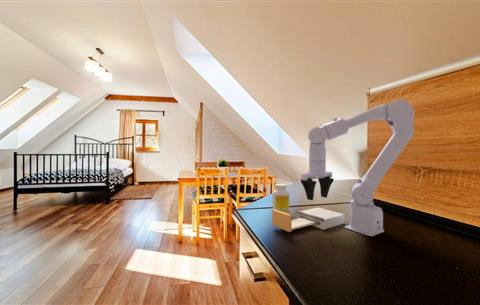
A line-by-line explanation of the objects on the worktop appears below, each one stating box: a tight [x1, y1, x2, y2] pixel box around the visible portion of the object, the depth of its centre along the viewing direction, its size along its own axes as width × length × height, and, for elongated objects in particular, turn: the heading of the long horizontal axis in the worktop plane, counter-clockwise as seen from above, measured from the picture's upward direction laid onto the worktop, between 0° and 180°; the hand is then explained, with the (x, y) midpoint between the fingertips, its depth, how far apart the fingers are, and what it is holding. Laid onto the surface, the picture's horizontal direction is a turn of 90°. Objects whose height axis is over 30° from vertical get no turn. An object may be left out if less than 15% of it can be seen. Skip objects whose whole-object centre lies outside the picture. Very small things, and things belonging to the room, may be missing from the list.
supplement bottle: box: [272, 183, 290, 214], centre depth 96 cm, size 7×7×13 cm
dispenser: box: [295, 207, 346, 230], centre depth 88 cm, size 12×12×4 cm
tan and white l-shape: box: [271, 209, 320, 233], centre depth 82 cm, size 17×8×5 cm, turn 122°
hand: (317, 198), depth 85 cm, fingers open, 7 cm apart
